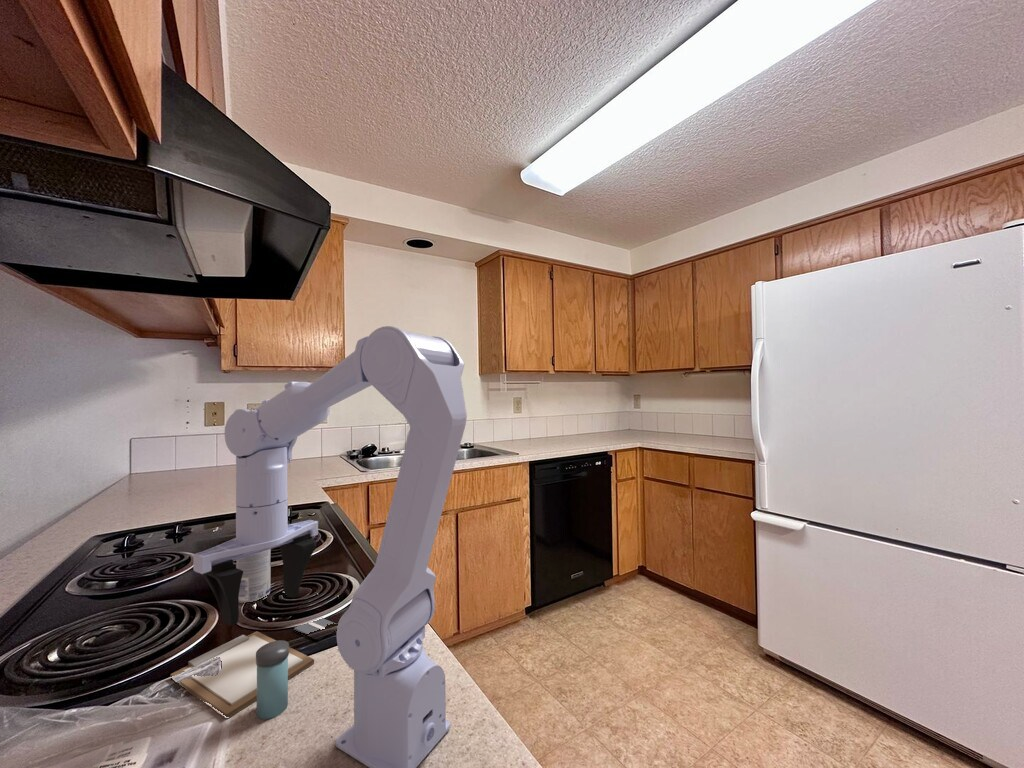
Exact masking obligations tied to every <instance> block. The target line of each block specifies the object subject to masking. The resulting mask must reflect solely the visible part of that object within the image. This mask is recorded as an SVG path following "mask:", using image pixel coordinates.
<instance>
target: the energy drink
mask: <svg viewBox="0 0 1024 768" xmlns="http://www.w3.org/2000/svg"><path fill="white" fill-rule="evenodd" d="M271 550H272V549H269V550H266V551H263V552H260V553H257V554H254V555H251V556H248V557H245V558H242V559H239V560H236V568H237V569H240V570H242V571H244V572H243V575H242V579H241V583H240V589H239V604H243V602H253V601H257V600H259V599H261V598H263V597H265V596H267V595H268V596H269V595H270V593H271V574H272V573H271V566H272V565H271V564H272V563H271V552H272V551H271ZM268 596H267V597H268ZM257 602H258V601H257ZM253 603H254V602H253Z"/></svg>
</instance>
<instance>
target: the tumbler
mask: <svg viewBox="0 0 1024 768" xmlns="http://www.w3.org/2000/svg"><path fill="white" fill-rule="evenodd" d="M289 647H290V643H289V642H288V641H286V640H283V639H282V640H281V639H280V640H276V641H273V642H270V643H267V644H265V645H263V646H262V647H260V648H259V649H258V650H257V652H256V665H257V701H256V717H257V719H260V720H264V721H265V720H270V719H273V718H276V717H278V716H280V715H281V714H283V712H284V711H286V709H287V708H288V704H289V680H288V655H289Z"/></svg>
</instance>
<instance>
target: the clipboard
mask: <svg viewBox="0 0 1024 768" xmlns="http://www.w3.org/2000/svg"><path fill="white" fill-rule="evenodd" d="M273 641H277V640H276V639H274V638H272V637H269V635H268V636H267V635H266V634H263V633H261V632H259V631H255V632H253V633H251V634H248V635H245V634H241V635H239V636H238V637H235V638H234V639H231V640H230V641H228V642H226V643H223V644H221V645H219V646H217V647H215V648H213V649H211V650H209V651H207V652H205V653H203V654H201V655H199V656H197V657H195V658H192V659H191V660H189V661H187V662H188V665H185V666H184V667H182V668H180V669H178V670H175V671H174V672H172V673H170V677H172V676H175V675H177V674H180V673H181V672H185V671H187V670H189V669H191V668H193V667H195V666H197V665H200V664H202V663H205V662H207V661H209V660H211V659H213V658H216V657H220V658H221V661H222V669H221V671H220V672H219V673H218V675H216V676H214V675H213V676H211V675H210V676H205V677H204V676H202V677H201V676H197V675H195V676H194V675H192V676H191V677H192V678H193V679H190V678H189V679H187V678H186V679H185V680H182V681H180V682H181V684H182V686H183V687H184V688H185V689H186V690H185V689H184V688H183V689H184V690H185V691H186V692H187V693H189V694H191V695H192V696H194V697H195V696H196V697H198V698H199V699H201V700H202V701H204V702H207V703H209V704H211V705H212V707H214V708H215V709H217V710H218V711H220V712H221V713H223V715H225V716H226V717H230V718H232V717H233V716H235V715H236V714H238V713H239V712H241V711H242V710H244V709H246V708H247V707H249V706H251V705H252V704H253V703H256V702H257V665H256V652H257V650H258V649H259V648H260V647H262V646H263V645H265V644H267V643H270V642H273ZM314 664H315V659H314V658H313V657H311V656H308V655H307V654H304V653H303V652H300V651H298V650H296V649H294V648H292V647H290V646H289V655H288V681H290V680H292V678H294V677H295V676H297V675H298V674H300V673H301V672H304V671H305V670H307V669H308V668H309V667H312V665H314ZM196 697H195V698H196ZM198 698H197V699H198ZM199 699H198V700H199ZM202 701H201V702H202Z"/></svg>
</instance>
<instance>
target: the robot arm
mask: <svg viewBox="0 0 1024 768" xmlns="http://www.w3.org/2000/svg"><path fill="white" fill-rule="evenodd" d="M464 369H465V362H464V361H463V359H462V358H461V356H460V355H459V353H458V351H457V350H456V349H455V347H454V345H453V344H452V343H451V342H450V341H448V340H447V339H445V338H443V337H439V336H433V335H432V336H429V335H424V334H420V333H415V332H411V331H406V330H402V329H400V328H399V327H396V326H389V325H387V326H381V327H378V328H376V329H375V330H374V331H373V330H372V332H371V333H370V334H369V335H368V336H364V337H363V338H360V339H358V340H357V341H356V345H355V350H354V351H353V352H352V353H350V354H349V355H348V356H346V357H345V358H343V359H342V360H341V361H339V362H338V363H337V364H336V365H334V366H332V368H331V369H329V370H328V371H326V372H325V373H324V374H323V375H321V376H319V378H317V379H316V380H315V381H313V382H307V381H289V382H288V383H286V384H285V385H284V390H283V391H281V392H279V393H278V394H276V395H275V396H273V397H272V398H270V399H269V398H268V399H264V400H263V401H262V402H261V405H259V406H258V407H256V408H255V409H252V410H250V409H248V408H241V409H240V408H239V409H236V410H234V412H233V413H232V414H231V415H230V416H228V419H227V420H226V423H225V426H224V441H225V445H226V446H227V448H228V450H229V451H230V453H231V455H234V456H235V537H234V538H232V539H230V540H228V541H225V542H222V543H221V544H218V545H215V546H213V547H211V548H208V549H206V550H203V551H200V552H197V553H193V561H192V562H193V567H192V568H193V572H195V573H198V574H201V576H202V577H203V579H204V580H205V581H206V584H208V586H209V587H210V589H211V591H212V593H213V595H214V597H215V599H216V602H217V604H218V608H219V611H220V615H221V619H222V623H223V624H225V625H228V626H230V627H232V626H235V625H237V624H239V622H238V621H239V617H240V611H239V610H240V609H239V606H240V605H239V604H240V603H239V589H240V583H241V579H242V575H243V572H244V571H242V570H240V569H237V568H236V564H234V562H235V561H236V560H239V559H242V558H245V557H248V556H251V555H254V554H257V553H260V552H263V551H266V550H269V549H271V550H273V549H275V548H277V547H279V550H280V555H281V559H282V566H283V575H282V577H283V583H282V584H283V592H284V595H286V596H288V597H290V598H296V597H298V596H299V592H300V588H301V583H302V580H303V577H304V573H305V571H306V568H307V565H308V562H309V561H310V558H311V557H312V555H313V553H314V551H315V550H316V548H317V540H316V539H315V538H312V537H316V536H318V535H319V521H317V520H312V519H308V520H304V521H299V522H295V523H289V524H288V522H289V520H288V515H289V514H288V509H289V508H288V505H289V504H288V497H289V496H288V464H289V463H290V462H291V460H292V458H293V457H292V456H293V454H292V453H293V447H294V446H295V444H296V442H297V440H298V437H299V436H301V435H303V434H305V433H307V432H308V431H310V430H312V429H313V428H315V427H317V426H319V425H320V424H322V423H323V422H325V421H326V420H327V419H328V417H329V415H330V409H331V408H330V407H332V406H334V405H336V404H338V403H340V402H342V401H343V400H345V399H348V398H350V397H352V396H353V395H356V394H358V393H360V392H361V391H363V390H365V389H367V388H369V387H371V386H372V387H373V388H374V389H375V390H376V391H378V393H380V395H382V397H383V398H385V399H386V401H387V402H389V403H390V404H391V405H392V406H393V407H394V408H395V409H396V410H397V411H398V412H399V414H402V416H403V418H404V419H405V420H406V423H408V425H409V432H408V436H407V439H406V443H405V447H404V452H403V455H402V459H401V463H400V467H399V472H398V474H397V479H396V483H395V485H394V486H395V487H394V491H393V494H392V498H391V503H390V507H389V511H388V513H387V518H386V522H385V525H384V529H383V533H382V538H381V541H380V543H379V545H380V546H379V548H378V552H377V556H376V560H375V564H374V567H372V569H371V571H370V572H369V573H368V574H367V576H366V577H365V578H364V580H363V581H361V583H360V585H359V586H358V587H357V589H355V591H354V593H353V595H352V599H351V603H350V605H349V608H348V609H347V610H346V611H345V612H344V613H343V614H342V616H341V617H340V619H339V620H338V622H337V624H338V626H337V631H336V643H337V648H338V649H337V650H338V651H339V654H340V656H341V658H342V659H343V661H344V662H345V664H347V666H348V667H349V668H351V669H352V670H353V724H352V725H351V726H350V727H349V728H348V729H347V730H346V731H344V732H343V733H342V734H341V735H340V736H338V737H337V738H336V739H335V740H334V741H335V745H334V746H335V748H338V749H339V750H341V751H342V752H344V753H345V754H347V755H349V756H350V757H352V758H353V759H355V760H356V761H358V762H360V763H362V764H363V765H364V766H366V767H368V768H417V767H418V766H419V765H420V764H421V762H422V761H423V760H424V759H425V758H426V756H427V755H428V754H429V753H430V752H431V751H432V750H433V749H434V748H435V746H436V745H437V744H438V743H439V741H441V740H442V738H443V737H444V736H445V734H446V733H447V732H448V731H449V730H450V729H451V722H450V721H449V720H447V718H446V716H447V715H446V711H447V709H446V707H447V705H446V699H447V698H446V695H447V694H446V674H445V671H444V668H443V667H442V666H440V665H439V664H438V663H436V662H435V661H434V660H433V659H432V658H430V657H429V655H428V654H427V652H426V650H425V648H424V646H423V643H424V642H423V640H424V639H425V638H426V626H427V625H428V624H429V623H430V622H431V620H432V618H433V617H434V615H435V611H436V600H435V594H434V589H435V588H434V587H435V582H436V578H437V576H436V574H435V573H434V572H433V570H431V569H430V568H429V567H428V566H429V561H430V559H431V554H432V550H433V546H434V543H435V539H436V536H437V531H438V527H439V525H440V521H441V518H442V513H443V510H444V506H445V501H446V498H447V495H448V491H449V488H450V484H451V480H452V476H453V473H454V469H455V466H456V461H457V458H458V455H459V451H460V447H461V443H462V439H463V436H464V432H465V427H466V425H467V418H468V417H467V416H468V415H467V409H466V403H465V397H464V390H463V384H462V383H463V381H462V375H463V372H464Z"/></svg>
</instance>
